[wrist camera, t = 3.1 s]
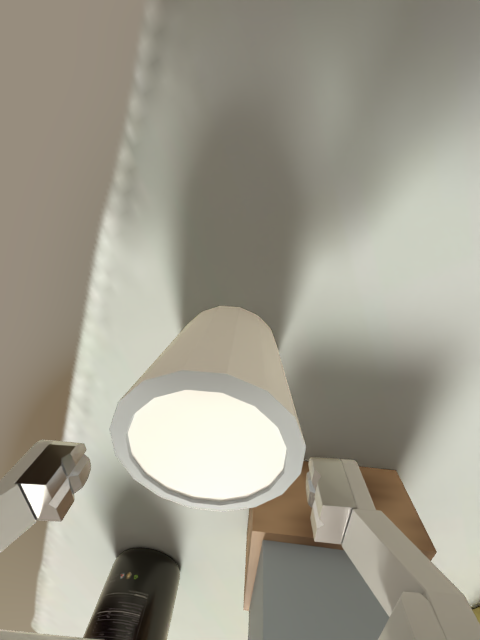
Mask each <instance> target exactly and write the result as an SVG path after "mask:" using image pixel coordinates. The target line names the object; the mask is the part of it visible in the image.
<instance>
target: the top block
mask: <svg viewBox="0 0 480 640" xmlns="http://www.w3.org/2000/svg"><path fill="white" fill-rule="evenodd" d="M388 619H389V616H388V614H387V613H386V611H385V610H384V609H383V607H382V606H381V604H380V603H379V601H378V600H377V598H376V597H375V595H374V594H373V592H372V591H371V589H370V588H369V586H368V585H367V583H366V582H365V580H364V579H363V577H362V576H361V574H360V573H359V571H358V570H357V568H356V567H355V565H354V564H353V562H352V561H351V559H350V558H349V556H348V555H347V553H346V552H345V550H338V549H331V548H323V547H315V546H307V545H300V544H292V543H284V542H277V541H269V540H263V541H262V546H261V551H260V557H259V562H258V567H257V572H256V577H255V582H254V587H253V592H252V597H251V602H250V607H249V631H248V640H378V638H379V636H380V634H381V633H382V631H383V629H384V627H385V625H386V623H387V621H388Z"/></svg>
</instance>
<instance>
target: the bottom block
mask: <svg viewBox="0 0 480 640" xmlns="http://www.w3.org/2000/svg"><path fill="white" fill-rule="evenodd" d="M308 463H309V462H308V461H303V465H302V470H301V474H300V475H299V476H298V477H297V479H296V480H295V481H294V482H293V483H292V484H291V485H290V486H289V488H288V489H287V490H286V491H285V492H284V493H283V494H282V495H280V496H278V497H276V498H274V499H272V500H270V501H267V502H265V503H263V504H261V505H259V506H257V507H253V508H249V518H248V528H247V544H246V566H245V588H244V609H243V610H248V611H249V607H250V602H251V597H252V592H253V587H254V582H255V577H256V572H257V567H258V562H259V557H260V551H261V546H262V541H263V540H269V541H277V542H284V543H292V544H300V545H307V546H315V547H323V548H331V549H338V550H344V549H343V548H342V544H333V543H324V542H315V541H314V536H313V531H312V525H311V519H310V517H311V512H312V508H311V507H310V506H309V505H308V502H307V495H306V475H307V473H308V472H309V465H308ZM359 469H360V471H361V474H362V476H363V479H364V481H365V484H366V486H367V489H368V491H369V494H370V496H371V499H372V501H373V504H374V506H375V509H376V510H379V511H382V512H383V513H384V514H385V515H386V516H387V517H388V518H389V519H390V520H391V521H392V523H393V524H394V525H395V526H396V527H397V528H398V529H399V530H400V531H401V532H402V533H403V534H404V535H405V536H406V537H407V538H408V539H409V540H410V541H411V542H412V543H413V544H414V545H415V546H416V547H417V548H418V549H419V550H420V551H421V552H422V553H423V554H424V555H425V556H426V557H427V558H428V559H429V560H430V561H431V560H432V558H433V557H434V555H435V554H436V550H435V548H434V546H433V544H432V542H431V539H430V537H429V535H428V533H427V531H426V529H425V527H424V525H423V523H422V521H421V519H420V517H419V515H418V513H417V511H416V509H415V507H414V505H413V503H412V501H411V499H410V497H409V495H408V493H407V491H406V489H405V487H404V485H403V483H402V481H401V479H400V477H399V475H398V473H397V471H396V470H388V469H378V468H368V467H359Z"/></svg>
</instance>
